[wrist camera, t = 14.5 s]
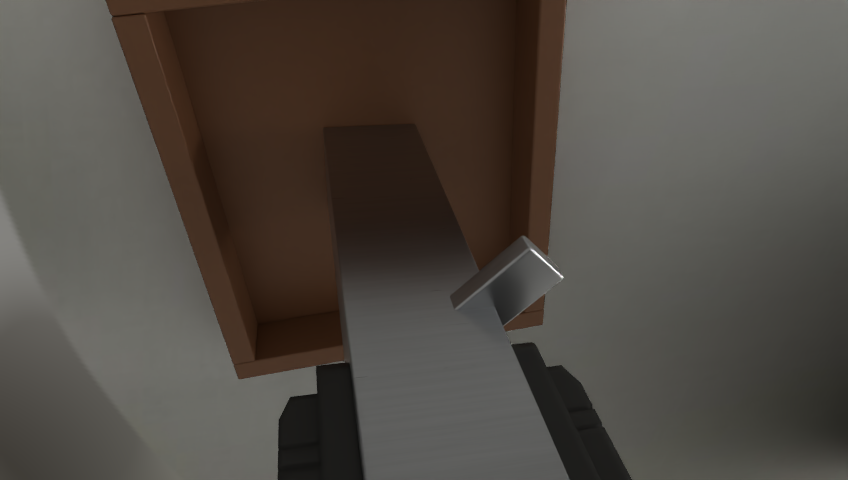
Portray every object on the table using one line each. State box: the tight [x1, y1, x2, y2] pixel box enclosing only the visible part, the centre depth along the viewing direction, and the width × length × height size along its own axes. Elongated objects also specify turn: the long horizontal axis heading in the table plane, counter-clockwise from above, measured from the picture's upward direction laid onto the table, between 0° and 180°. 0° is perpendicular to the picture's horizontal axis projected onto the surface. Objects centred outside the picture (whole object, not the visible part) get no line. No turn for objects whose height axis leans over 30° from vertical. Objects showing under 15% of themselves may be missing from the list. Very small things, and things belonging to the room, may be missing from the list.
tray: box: [106, 0, 567, 379], centre depth 19 cm, size 14×12×2 cm
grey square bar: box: [323, 124, 570, 480], centre depth 14 cm, size 6×6×15 cm
